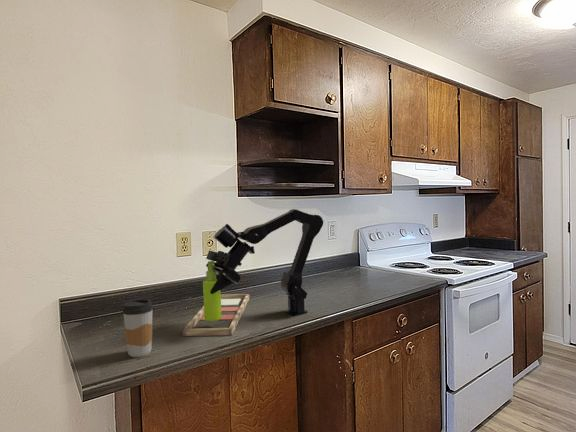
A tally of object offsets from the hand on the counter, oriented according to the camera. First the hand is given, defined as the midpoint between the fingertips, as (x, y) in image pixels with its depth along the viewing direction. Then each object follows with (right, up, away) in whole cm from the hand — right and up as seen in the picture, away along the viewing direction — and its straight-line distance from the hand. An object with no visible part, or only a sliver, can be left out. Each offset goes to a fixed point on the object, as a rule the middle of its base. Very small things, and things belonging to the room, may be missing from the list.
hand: (207, 291), depth 124 cm
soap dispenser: (+2, -10, +1) cm, 10 cm away
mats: (+2, -12, +17) cm, 21 cm away
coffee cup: (-16, -14, -18) cm, 28 cm away
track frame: (+2, -12, +17) cm, 21 cm away
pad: (+2, -12, +32) cm, 34 cm away
